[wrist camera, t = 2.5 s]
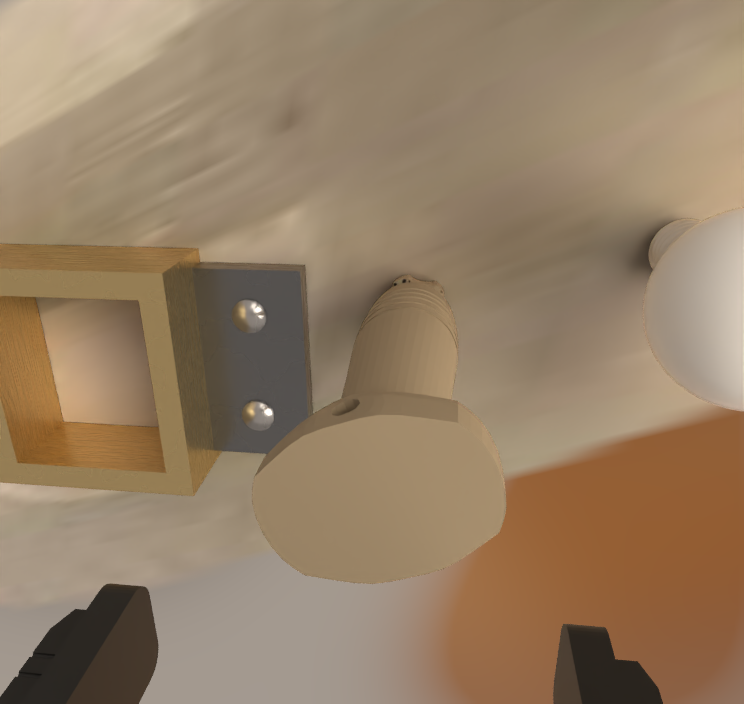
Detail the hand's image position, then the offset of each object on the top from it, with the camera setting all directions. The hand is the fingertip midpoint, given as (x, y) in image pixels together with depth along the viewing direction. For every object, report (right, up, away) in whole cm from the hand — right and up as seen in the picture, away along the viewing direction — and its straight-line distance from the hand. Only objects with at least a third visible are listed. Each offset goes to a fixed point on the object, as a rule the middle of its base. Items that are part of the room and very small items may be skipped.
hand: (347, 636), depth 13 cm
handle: (+2, +8, +18) cm, 19 cm away
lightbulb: (+13, +10, +15) cm, 22 cm away
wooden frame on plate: (-12, +5, +20) cm, 25 cm away
